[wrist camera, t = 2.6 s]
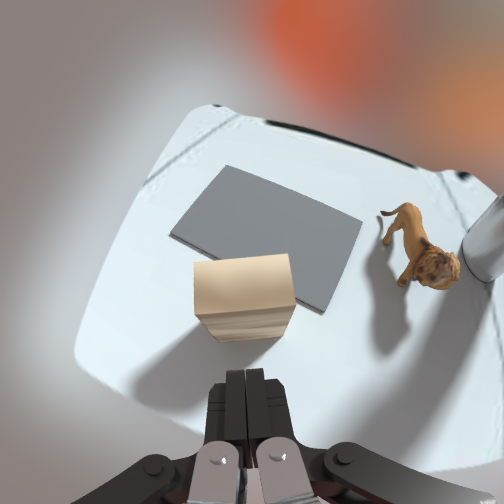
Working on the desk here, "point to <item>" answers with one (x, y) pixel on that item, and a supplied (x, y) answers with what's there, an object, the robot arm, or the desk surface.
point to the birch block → (244, 297)
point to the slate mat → (272, 230)
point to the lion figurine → (422, 251)
